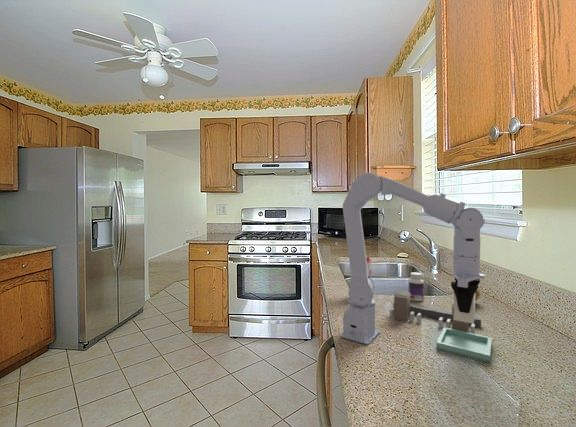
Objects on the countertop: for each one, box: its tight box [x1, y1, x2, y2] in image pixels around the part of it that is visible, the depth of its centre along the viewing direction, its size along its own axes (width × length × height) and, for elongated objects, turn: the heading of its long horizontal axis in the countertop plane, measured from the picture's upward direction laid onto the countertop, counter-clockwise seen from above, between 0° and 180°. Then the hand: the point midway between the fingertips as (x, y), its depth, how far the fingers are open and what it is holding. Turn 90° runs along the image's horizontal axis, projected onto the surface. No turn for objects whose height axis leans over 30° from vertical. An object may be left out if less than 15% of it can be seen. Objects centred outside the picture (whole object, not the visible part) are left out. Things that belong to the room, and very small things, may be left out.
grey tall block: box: [453, 291, 476, 324], centre depth 75 cm, size 4×4×8 cm
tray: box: [435, 326, 493, 364], centre depth 76 cm, size 11×11×2 cm
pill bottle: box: [407, 271, 425, 302], centre depth 112 cm, size 5×5×10 cm
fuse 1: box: [393, 290, 411, 323], centre depth 94 cm, size 4×4×8 cm
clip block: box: [389, 302, 482, 334], centre depth 92 cm, size 9×25×2 cm, turn 54°
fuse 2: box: [451, 301, 470, 333], centre depth 85 cm, size 4×4×8 cm
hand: (465, 309), depth 75 cm, fingers closed on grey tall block, 4 cm apart
